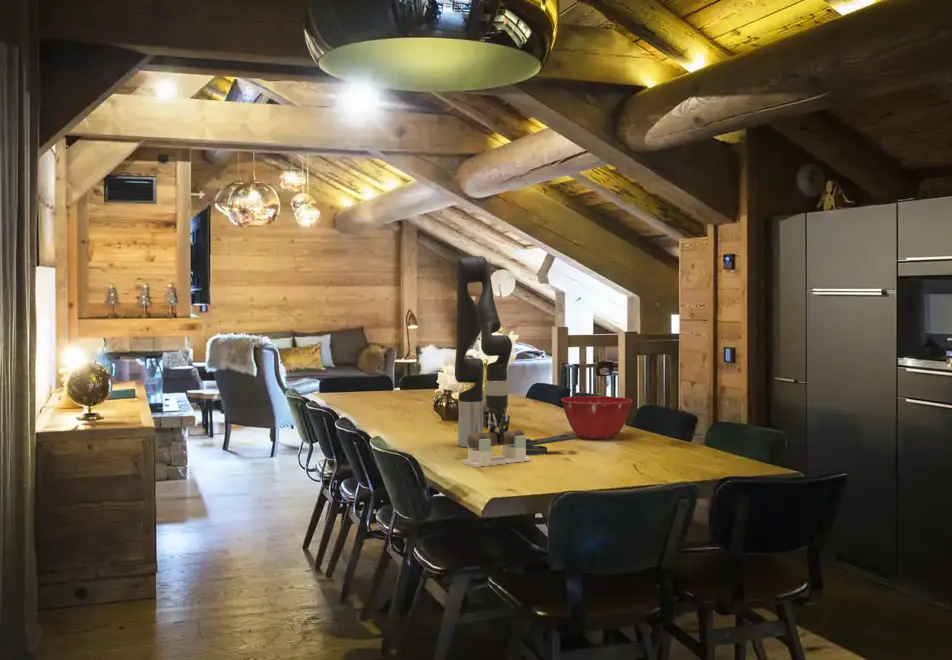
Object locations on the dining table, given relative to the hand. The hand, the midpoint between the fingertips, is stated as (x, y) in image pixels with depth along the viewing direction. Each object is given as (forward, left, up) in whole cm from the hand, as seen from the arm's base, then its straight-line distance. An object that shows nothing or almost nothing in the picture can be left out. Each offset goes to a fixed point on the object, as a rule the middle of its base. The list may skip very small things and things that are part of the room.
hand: (496, 442), depth 316 cm
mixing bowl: (-28, +64, -7) cm, 70 cm away
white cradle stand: (0, 0, -7) cm, 7 cm away
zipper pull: (-8, +23, -7) cm, 26 cm away
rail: (0, 0, -1) cm, 1 cm away
